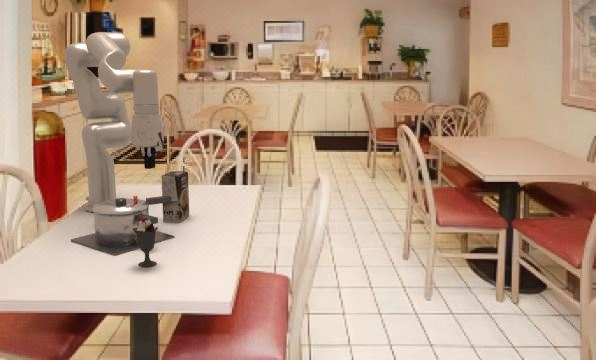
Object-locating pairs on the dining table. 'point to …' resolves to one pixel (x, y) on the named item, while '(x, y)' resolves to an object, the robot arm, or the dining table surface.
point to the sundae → (145, 239)
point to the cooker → (117, 233)
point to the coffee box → (175, 196)
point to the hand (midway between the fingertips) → (150, 168)
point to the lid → (128, 205)
